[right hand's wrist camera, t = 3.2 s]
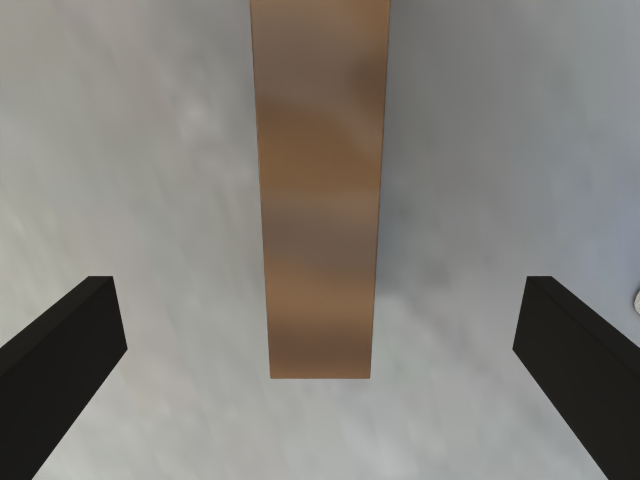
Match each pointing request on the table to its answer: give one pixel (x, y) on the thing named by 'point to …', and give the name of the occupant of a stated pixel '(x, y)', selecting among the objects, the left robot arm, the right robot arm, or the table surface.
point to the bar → (320, 178)
